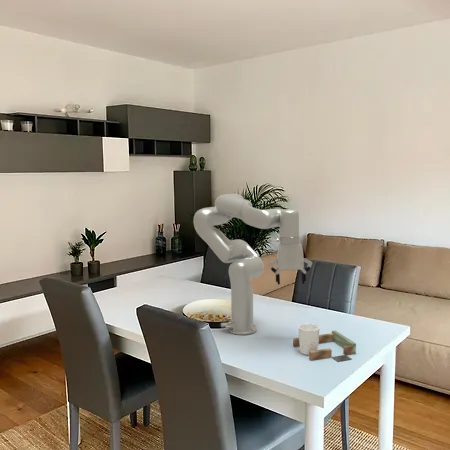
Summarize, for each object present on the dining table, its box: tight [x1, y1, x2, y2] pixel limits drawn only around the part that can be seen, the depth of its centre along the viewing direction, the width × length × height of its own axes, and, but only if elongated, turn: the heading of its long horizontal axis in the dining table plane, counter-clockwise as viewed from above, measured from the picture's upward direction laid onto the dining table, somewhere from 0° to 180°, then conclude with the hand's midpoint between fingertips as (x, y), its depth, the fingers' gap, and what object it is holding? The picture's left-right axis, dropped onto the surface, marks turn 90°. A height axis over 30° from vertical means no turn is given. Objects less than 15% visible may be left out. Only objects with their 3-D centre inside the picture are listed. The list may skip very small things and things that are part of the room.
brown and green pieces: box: [292, 330, 357, 363], centre depth 180 cm, size 19×24×4 cm
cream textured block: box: [298, 323, 320, 356], centre depth 177 cm, size 8×8×10 cm
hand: (290, 283), depth 183 cm, fingers open, 9 cm apart
